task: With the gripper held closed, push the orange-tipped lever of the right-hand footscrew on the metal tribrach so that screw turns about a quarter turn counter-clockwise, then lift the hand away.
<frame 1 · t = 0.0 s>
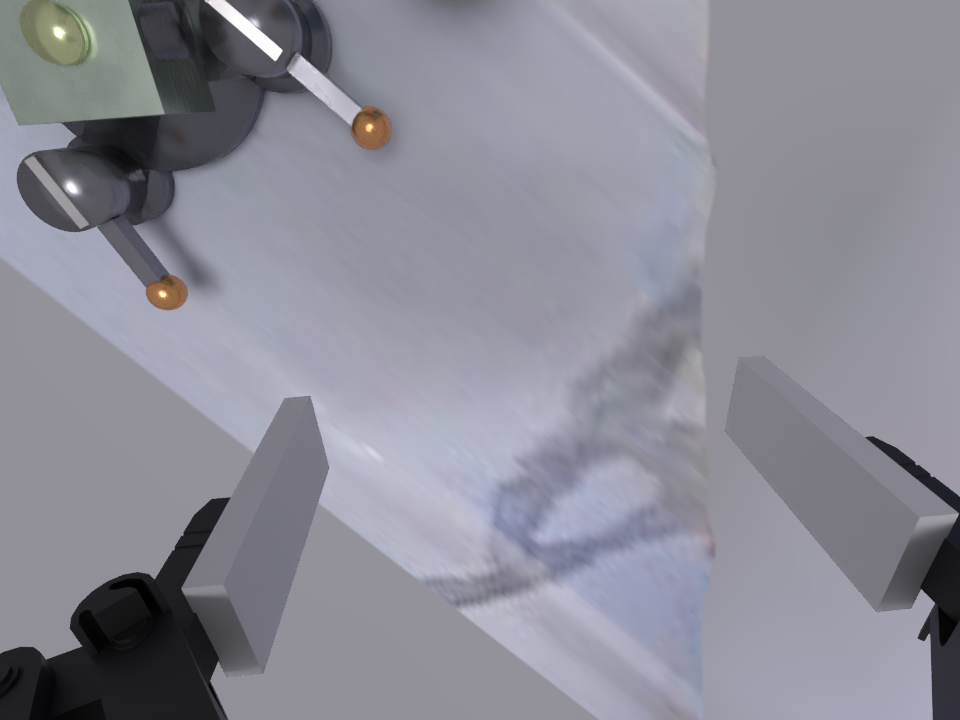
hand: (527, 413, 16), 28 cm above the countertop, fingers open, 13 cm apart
footscrew C: (310, 75, 31), point 5 cm above the countertop, hinge at 0.0°
footscrew B: (123, 234, 34), point 5 cm above the countertop, hinge at 0.0°
tribrach: (150, 49, 34), on the countertop
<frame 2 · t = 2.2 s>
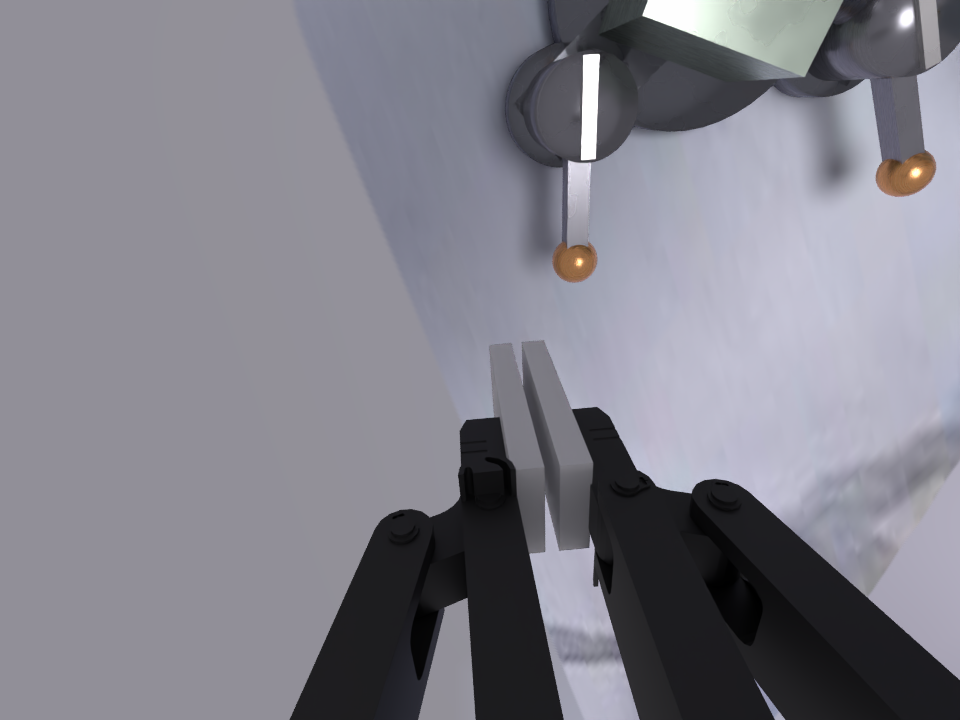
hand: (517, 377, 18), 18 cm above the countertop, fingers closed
footscrew C: (891, 92, 26), point 5 cm above the countertop, hinge at 0.0°
footscrew B: (575, 178, 28), point 5 cm above the countertop, hinge at 0.0°
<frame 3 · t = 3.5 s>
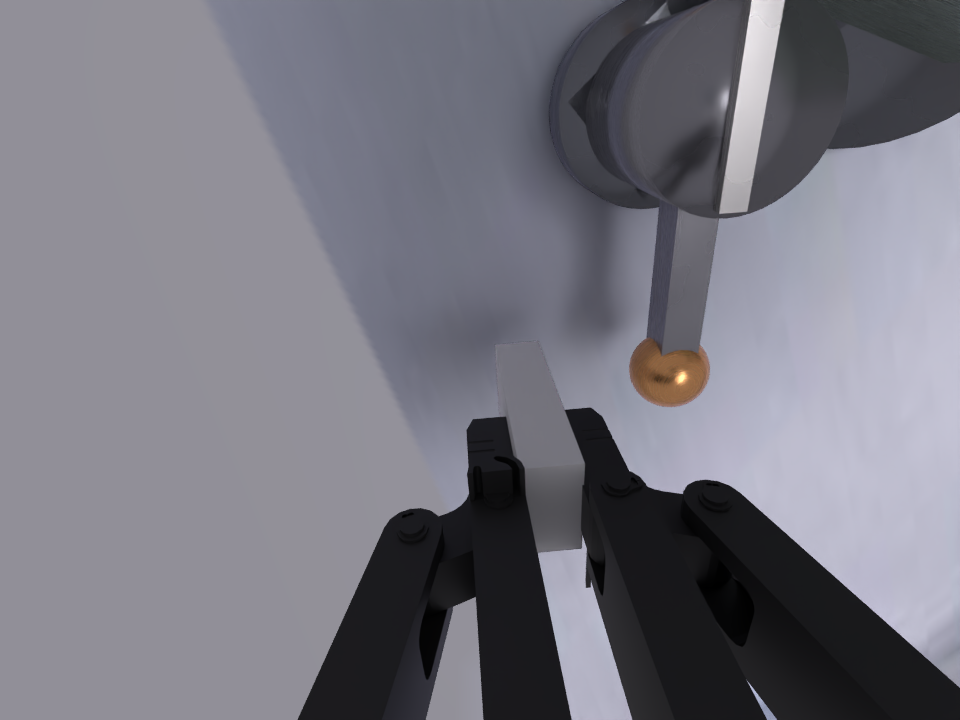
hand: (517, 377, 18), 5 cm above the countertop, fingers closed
footscrew B: (681, 235, 15), point 5 cm above the countertop, hinge at 0.0°
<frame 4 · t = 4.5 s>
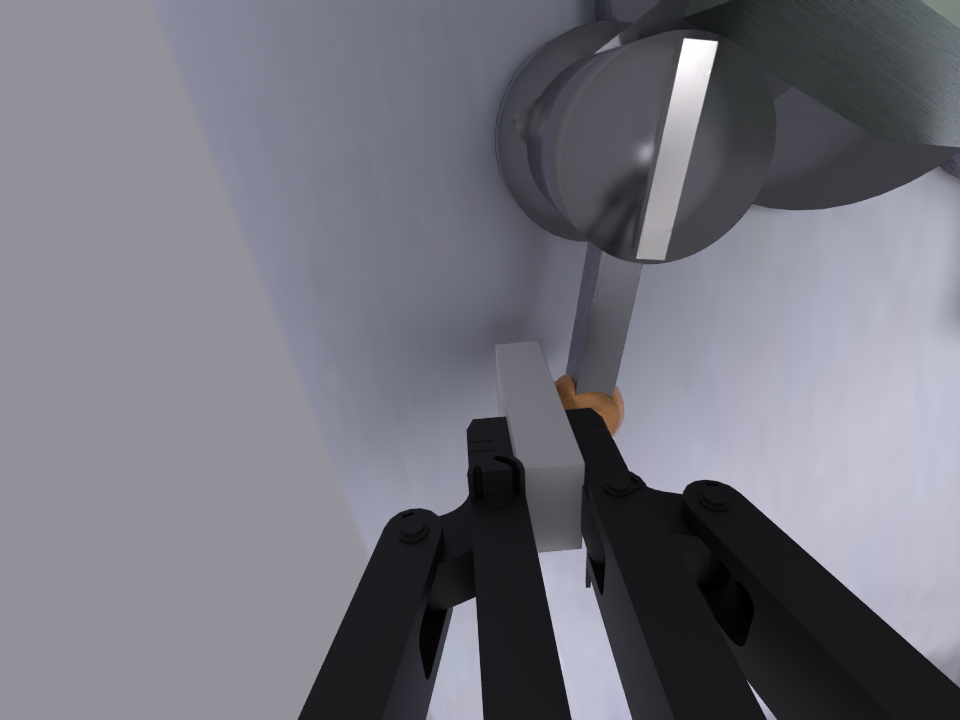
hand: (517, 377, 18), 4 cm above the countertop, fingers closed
footscrew B: (607, 274, 15), point 5 cm above the countertop, hinge at 0.0°, touching gripper
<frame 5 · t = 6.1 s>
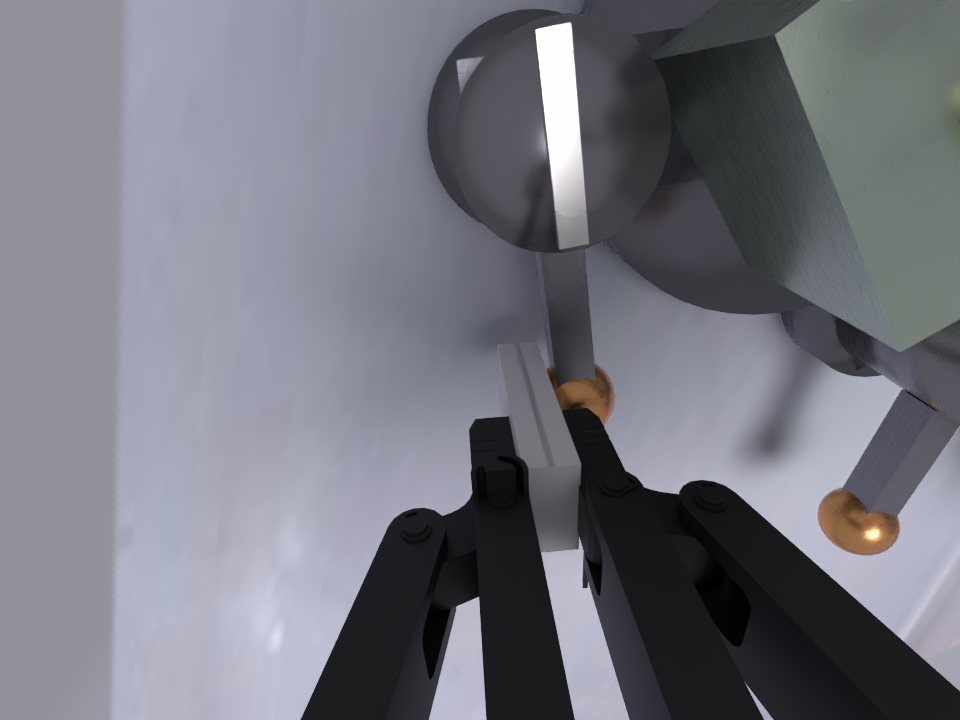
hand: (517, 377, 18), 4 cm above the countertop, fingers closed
footscrew C: (911, 422, 18), point 5 cm above the countertop, hinge at 0.0°
footscrew B: (558, 263, 15), point 5 cm above the countertop, hinge at 43.1°, touching gripper
tribrach: (778, 91, 17), on the countertop
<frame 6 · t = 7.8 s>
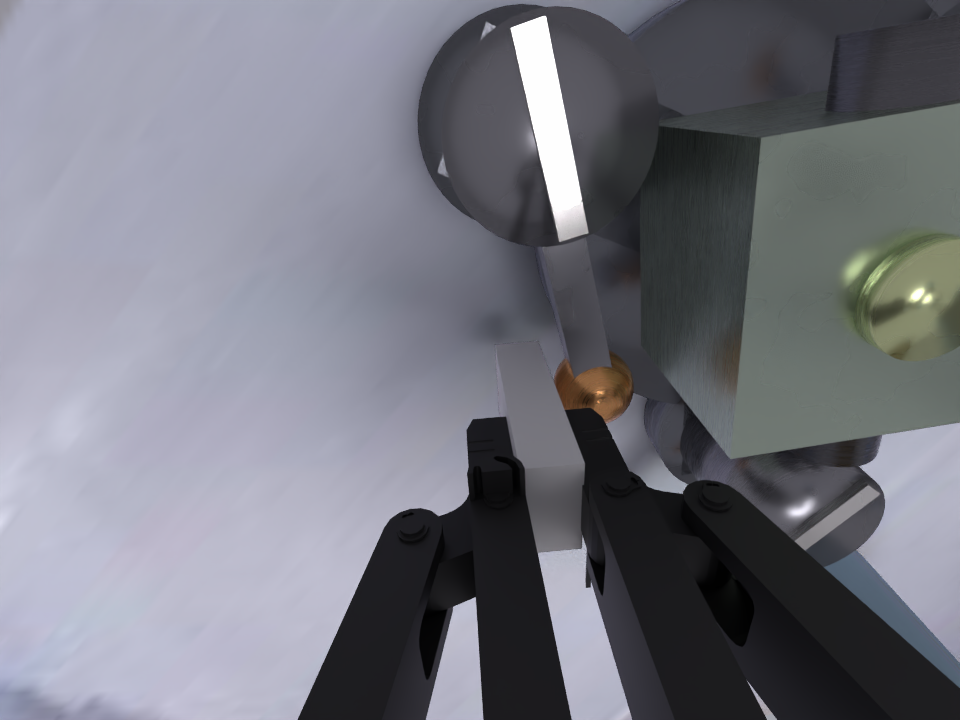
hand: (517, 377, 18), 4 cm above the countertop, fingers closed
bottle: (787, 566, 29), on the countertop
footscrew C: (705, 532, 20), point 5 cm above the countertop, hinge at 0.0°
footscrew B: (561, 255, 15), point 5 cm above the countertop, hinge at 77.8°
tribrach: (724, 215, 19), on the countertop
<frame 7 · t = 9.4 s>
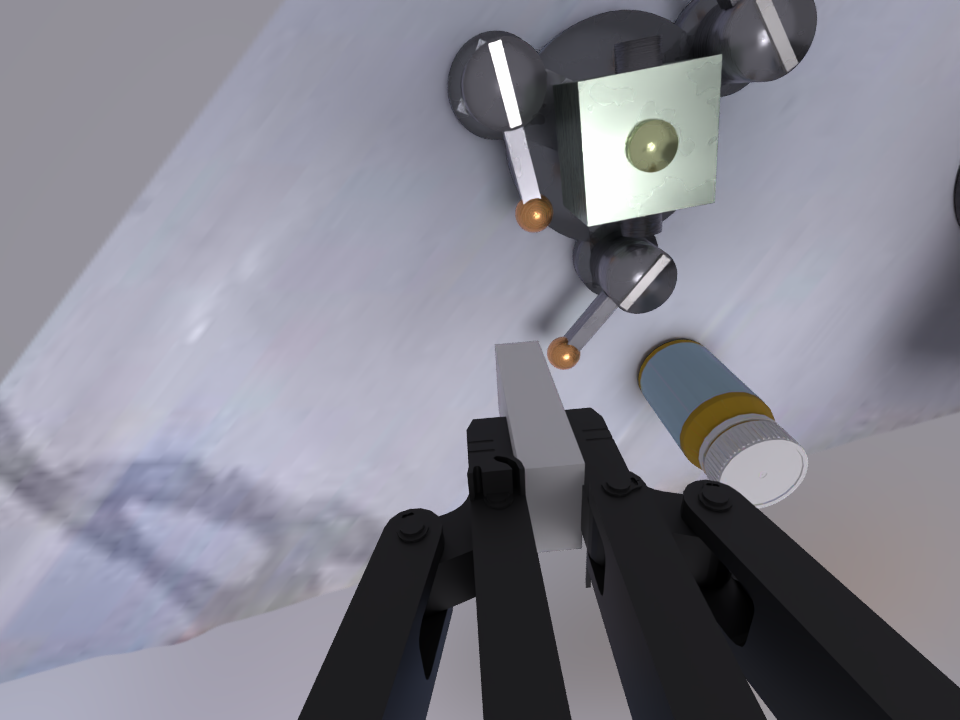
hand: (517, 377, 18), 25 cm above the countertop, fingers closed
bottle: (671, 369, 47), on the countertop
footscrew C: (600, 307, 38), point 5 cm above the countertop, hinge at 0.0°
footscrew B: (515, 144, 32), point 5 cm above the countertop, hinge at 78.0°
tribrach: (605, 135, 37), on the countertop
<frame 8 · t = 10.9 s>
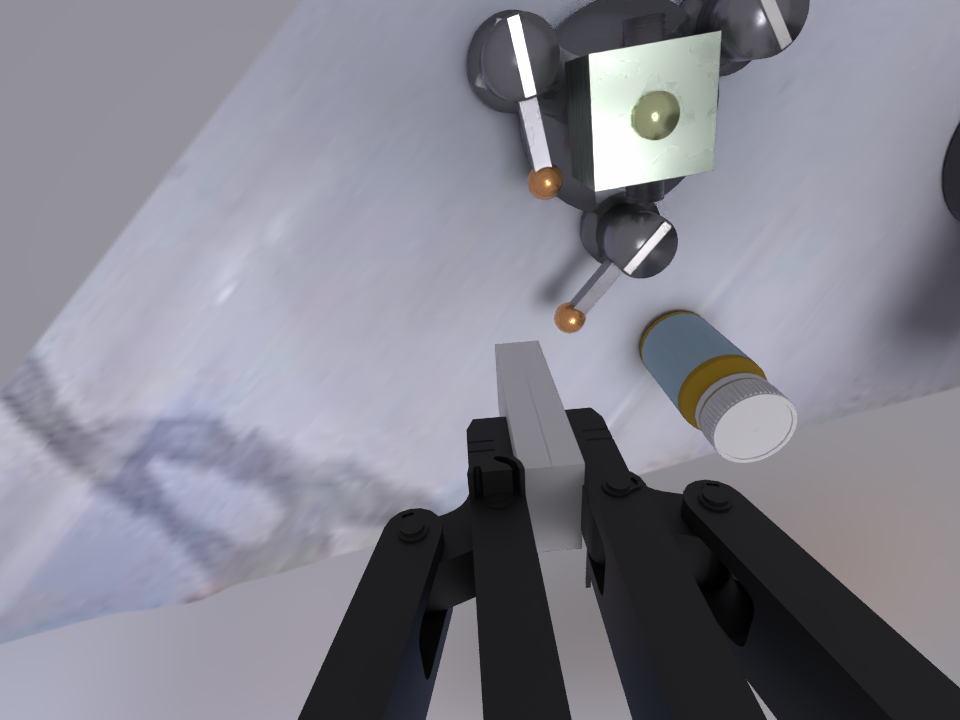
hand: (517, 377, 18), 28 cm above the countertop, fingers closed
bottle: (671, 340, 50), on the countertop
footscrew C: (605, 274, 41), point 5 cm above the countertop, hinge at 0.0°
footscrew B: (529, 115, 35), point 5 cm above the countertop, hinge at 78.0°
tribrach: (612, 112, 40), on the countertop
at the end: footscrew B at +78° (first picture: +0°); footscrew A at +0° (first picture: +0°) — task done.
